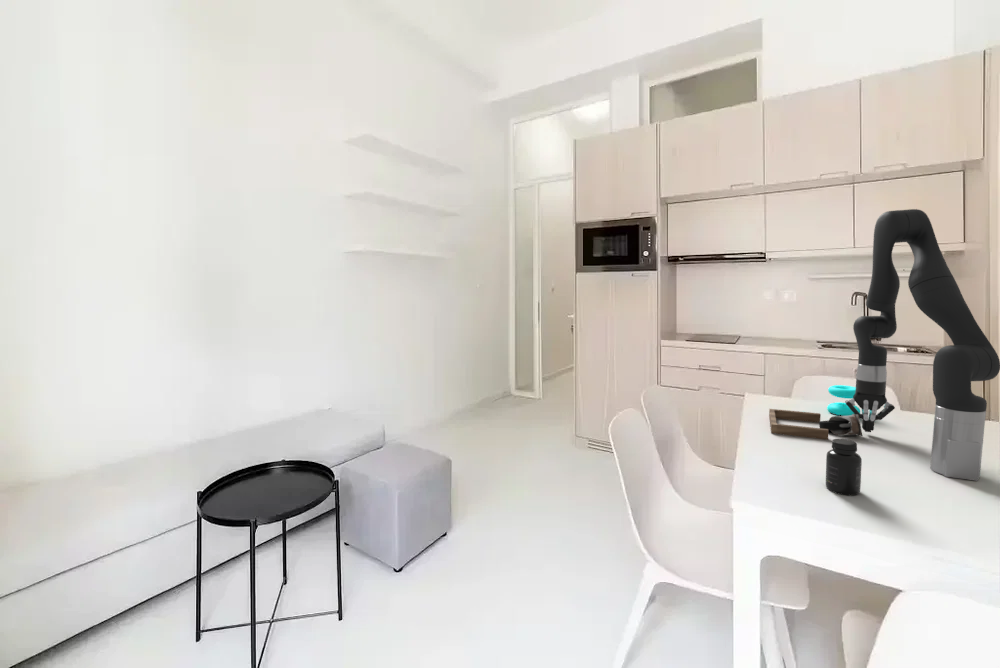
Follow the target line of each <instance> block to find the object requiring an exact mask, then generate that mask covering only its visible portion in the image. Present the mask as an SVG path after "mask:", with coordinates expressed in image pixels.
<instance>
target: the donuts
mask: <svg viewBox="0 0 1000 668" xmlns="http://www.w3.org/2000/svg"><path fill="white" fill-rule="evenodd" d="M827 389H828V393H829V394H830V395H831V396H833V397H836V398H840V399H847V400H851V399H853V396H854V395H855V391H856V386H851V385H844V384H842V385H841V384H838V385H837V384H836V385H830V386H829V387H828V388H827ZM854 407H855V408H856V410H857V411H858V412H859V413H860V414H861V409H860V407H858V406H857V405H855V406H854ZM826 409H827V411H828V412H829V413H831V414H833V415H835V414H836V415H835V416H840V415H841V416H849V415H852V414H854V413H853V412H852V410H851V409H850V408H849V407H848V406H847V404H846V403H845V402H841V401H839V402H838V401H837V402H832V403H828V405H827V407H826Z"/></svg>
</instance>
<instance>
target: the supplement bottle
mask: <svg viewBox="0 0 1000 668" xmlns="http://www.w3.org/2000/svg"><path fill="white" fill-rule="evenodd" d="M831 442H832V443H831V449H830V450H828V451H827V453H826V459H825V460H826V461H825V487H826V489H827V490H829V491H830V490H831V492H833V493H835V492H836V494H838V493H839V494H838V495H845V496H858V495H859V494H860V492H861V486H862V485H861V483H862V456H860V454H859V453H857V452H858V442H856V441H854V440H851V439H848V438H833V439H832V440H831Z"/></svg>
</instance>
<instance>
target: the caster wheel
mask: <svg viewBox="0 0 1000 668" xmlns="http://www.w3.org/2000/svg"><path fill="white" fill-rule="evenodd" d="M818 425H819V427H818V428H822V429H828V430H829V432H831V434H833V435H836V436H839V437H840V436H859V437H863V432H862V431H863V429H862V424H861V421H860V418H859V415H856V414H852V415H849V416H840V415H834V416H831V417H830V418H829V419H828V420H820V422H819V423H818Z"/></svg>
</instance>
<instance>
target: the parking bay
mask: <svg viewBox="0 0 1000 668" xmlns="http://www.w3.org/2000/svg"><path fill="white" fill-rule="evenodd" d="M768 410H769V411H768V412H769V413H768V417H769V427H771V428H770V433H771V434H774V433H776V434H775V435H783V434H784V435H785V436H791V435H792V436H793V437H800V438H801V437H802V438H811V439H819V440H825V441H827V440H828V441H829V432H830V430H828V429H822V428H820V427H810V426H803V425H802V426H800V425H793V424H784V423H777V419H779V420H789V421H797V422H808V423H810V422H811V423H816V424H817V423H818V424H819V422H820V421H821V415H822V414H821V413H820V412H819V413H818V412H811V411H808V412H807V411H798V410H788V409H787V410H786V409H779V408H778V409H777V408H769V409H768Z"/></svg>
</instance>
